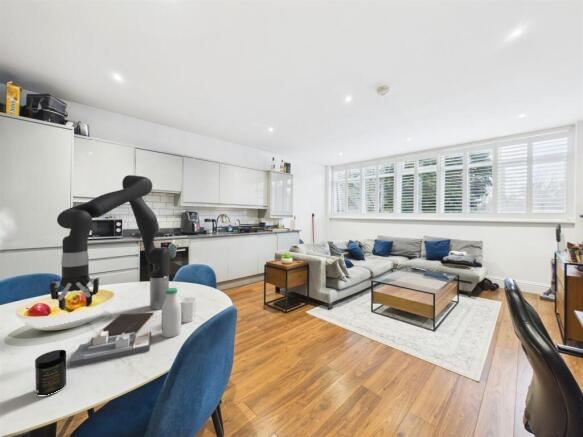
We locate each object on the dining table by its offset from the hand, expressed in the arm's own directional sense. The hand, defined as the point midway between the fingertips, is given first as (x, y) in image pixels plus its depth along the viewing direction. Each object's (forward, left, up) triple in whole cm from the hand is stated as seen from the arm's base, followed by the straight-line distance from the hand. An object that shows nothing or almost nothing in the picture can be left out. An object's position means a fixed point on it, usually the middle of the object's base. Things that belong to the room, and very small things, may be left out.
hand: (75, 307), depth 91 cm
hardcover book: (-17, +14, -19) cm, 29 cm away
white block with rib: (+6, +15, -16) cm, 23 cm away
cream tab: (0, +7, -16) cm, 17 cm away
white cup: (-14, +39, -18) cm, 46 cm away
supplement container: (+20, -1, -18) cm, 27 cm away
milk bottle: (-2, +32, -18) cm, 37 cm away
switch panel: (+3, +12, -18) cm, 22 cm away
